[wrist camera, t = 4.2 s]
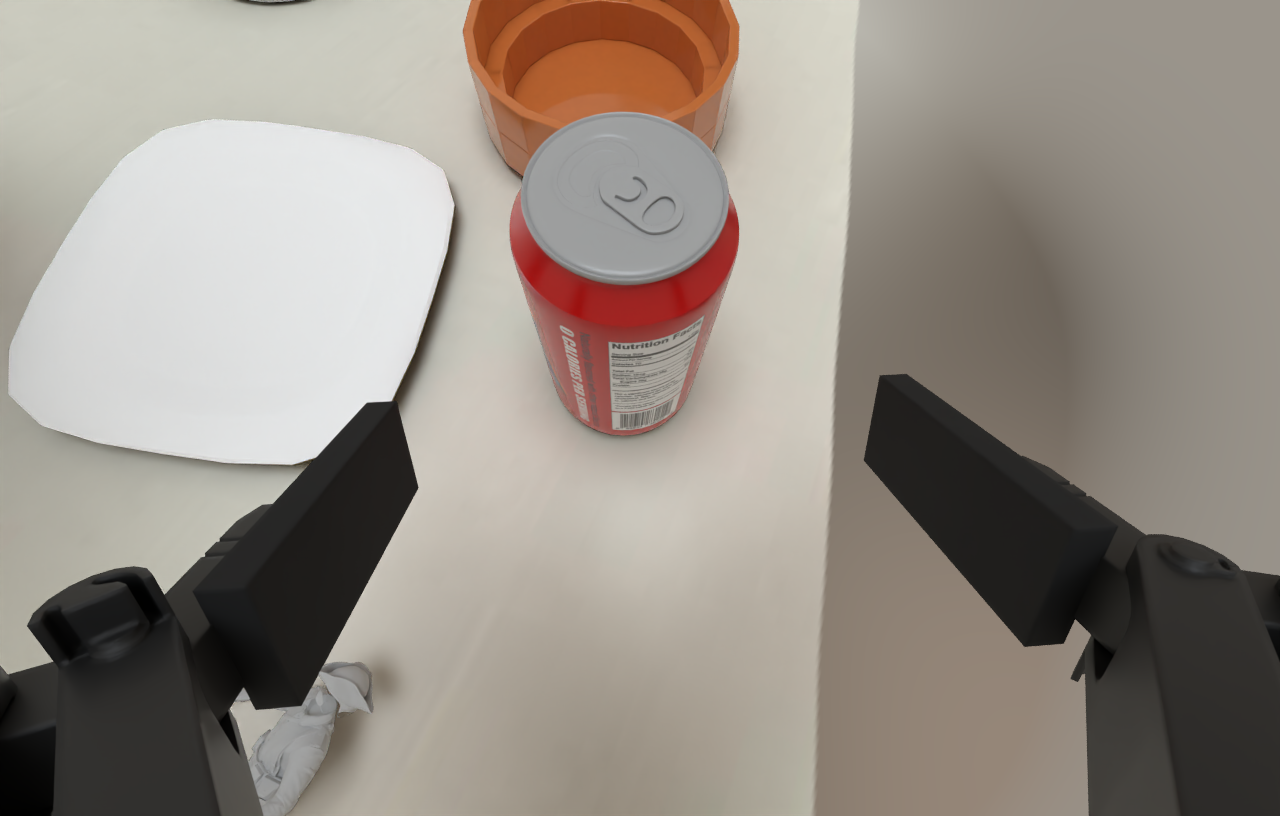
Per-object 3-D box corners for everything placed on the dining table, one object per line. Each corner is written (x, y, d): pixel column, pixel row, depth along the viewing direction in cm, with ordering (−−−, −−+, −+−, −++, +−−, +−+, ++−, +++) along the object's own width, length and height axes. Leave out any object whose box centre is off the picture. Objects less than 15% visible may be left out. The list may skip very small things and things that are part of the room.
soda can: (631, 469, 29) (642, 351, 14) (526, 382, 30) (442, 197, 16) (718, 368, 31) (801, 179, 17) (615, 291, 32) (612, 57, 18)
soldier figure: (127, 801, 24) (276, 589, 23) (245, 806, 27) (380, 616, 26) (39, 1029, 17) (243, 741, 17) (207, 1005, 20) (386, 756, 20)
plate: (384, 491, 28) (370, 485, 26) (-13, 429, 28) (-52, 420, 27) (484, 169, 35) (478, 148, 33) (166, 123, 35) (144, 100, 34)
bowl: (439, 118, 36) (405, 31, 30) (598, 0, 40) (594, -96, 35) (615, 252, 33) (613, 183, 27) (766, 109, 37) (792, 23, 32)
